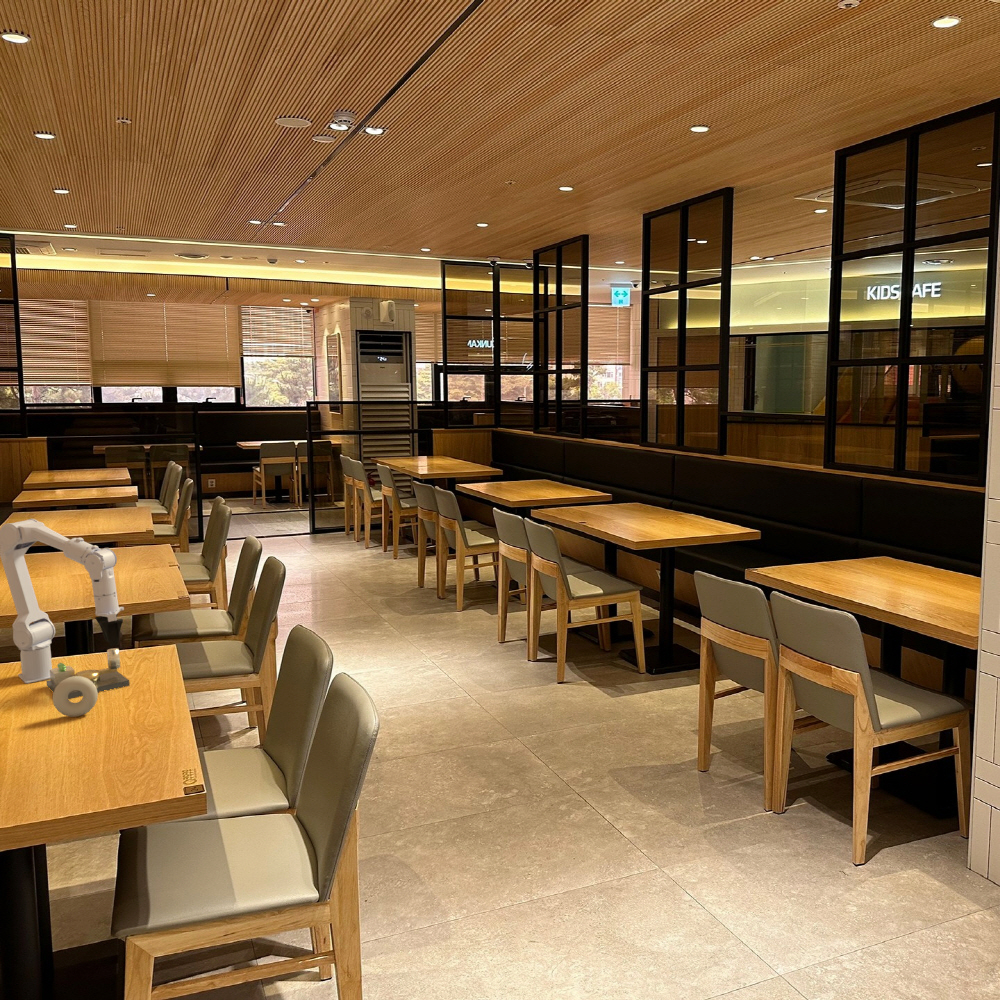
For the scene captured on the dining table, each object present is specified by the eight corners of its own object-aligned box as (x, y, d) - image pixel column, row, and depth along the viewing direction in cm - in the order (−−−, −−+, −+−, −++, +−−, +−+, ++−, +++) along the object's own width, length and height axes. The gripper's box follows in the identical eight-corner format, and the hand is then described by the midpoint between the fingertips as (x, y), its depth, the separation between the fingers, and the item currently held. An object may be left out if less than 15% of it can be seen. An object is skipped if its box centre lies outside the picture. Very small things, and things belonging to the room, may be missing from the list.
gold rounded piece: (78, 685, 236) (76, 659, 235) (72, 680, 240) (70, 654, 240) (123, 675, 243) (122, 651, 242) (117, 670, 248) (115, 646, 247)
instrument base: (47, 686, 241) (45, 664, 240) (112, 672, 251) (111, 651, 251) (61, 700, 229) (59, 677, 228) (129, 685, 240) (127, 663, 239)
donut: (99, 710, 221) (96, 671, 220) (99, 715, 218) (96, 675, 217) (54, 717, 217) (51, 677, 216) (53, 721, 214) (50, 681, 213)
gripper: (125, 594, 236) (132, 644, 238) (116, 587, 248) (123, 635, 250) (96, 599, 232) (104, 650, 234) (89, 592, 245) (96, 640, 246)
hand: (112, 643), depth 242 cm, fingers open, 7 cm apart
